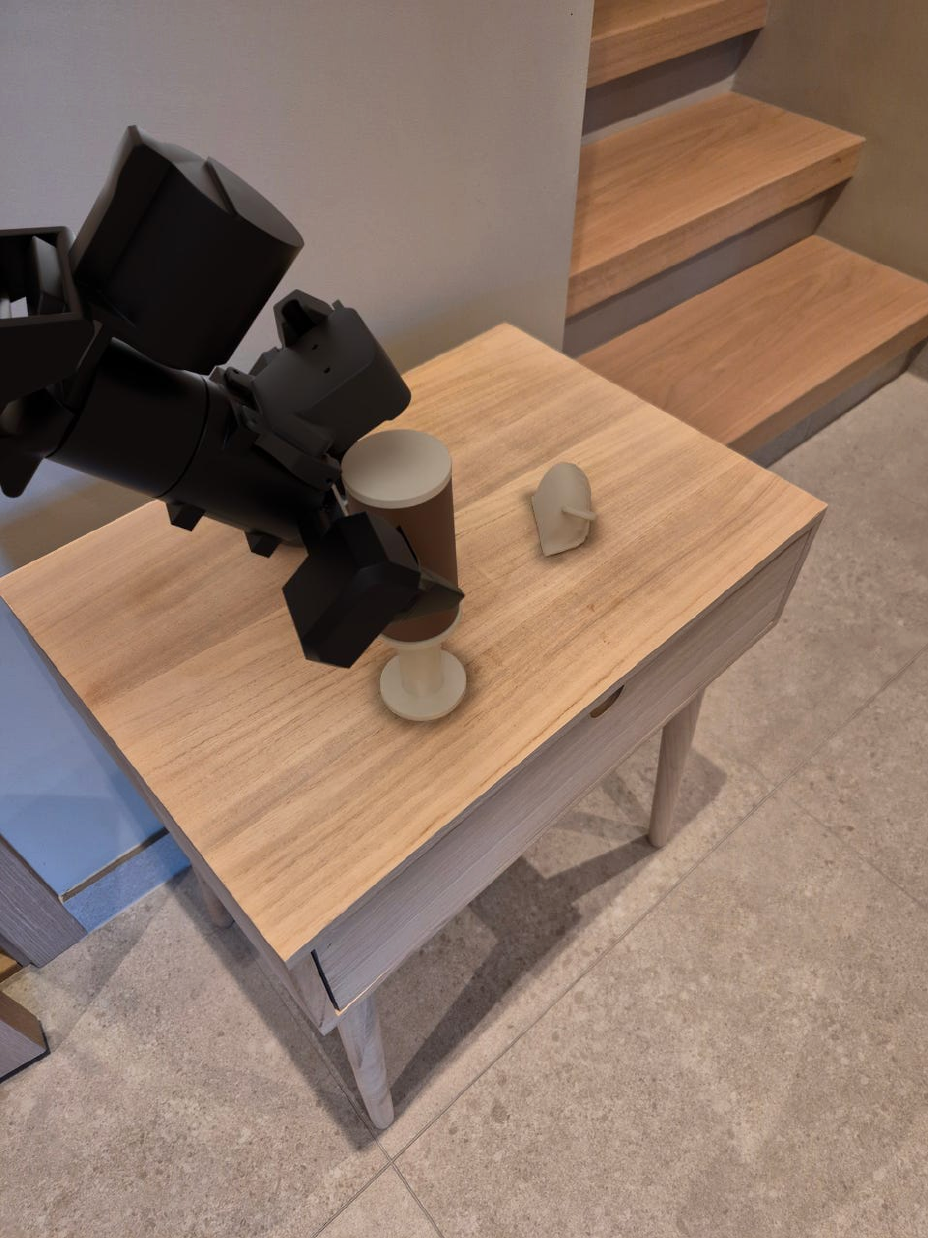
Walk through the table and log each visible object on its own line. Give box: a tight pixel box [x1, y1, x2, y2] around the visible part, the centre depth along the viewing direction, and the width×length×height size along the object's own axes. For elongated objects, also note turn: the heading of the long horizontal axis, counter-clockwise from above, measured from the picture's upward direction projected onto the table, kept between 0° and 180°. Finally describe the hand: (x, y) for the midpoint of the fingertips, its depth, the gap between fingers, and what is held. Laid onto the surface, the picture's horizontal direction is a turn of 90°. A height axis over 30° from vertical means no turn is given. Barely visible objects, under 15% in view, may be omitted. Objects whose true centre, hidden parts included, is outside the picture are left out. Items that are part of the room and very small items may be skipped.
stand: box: [376, 601, 467, 722], centre depth 54 cm, size 6×6×8 cm
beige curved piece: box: [530, 461, 599, 558], centre depth 64 cm, size 4×8×5 cm, turn 4°
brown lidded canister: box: [341, 428, 459, 642], centre depth 47 cm, size 6×6×11 cm
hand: (428, 544), depth 47 cm, fingers open, 9 cm apart
